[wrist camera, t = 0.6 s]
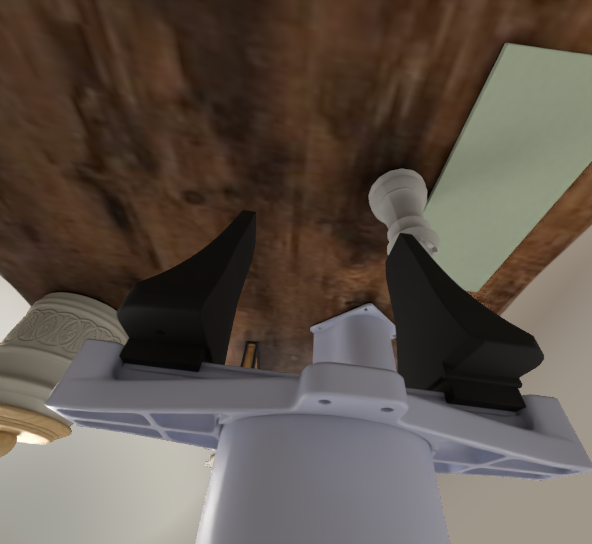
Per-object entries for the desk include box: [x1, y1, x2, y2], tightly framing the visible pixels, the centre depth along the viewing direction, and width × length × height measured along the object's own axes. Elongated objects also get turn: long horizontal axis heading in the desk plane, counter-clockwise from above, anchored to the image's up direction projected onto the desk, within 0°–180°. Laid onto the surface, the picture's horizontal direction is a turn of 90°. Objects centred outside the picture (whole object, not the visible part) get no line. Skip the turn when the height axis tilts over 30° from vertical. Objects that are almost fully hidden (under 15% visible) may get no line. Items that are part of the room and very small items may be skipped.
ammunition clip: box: [241, 342, 260, 369], centre depth 42 cm, size 11×2×12 cm, turn 176°
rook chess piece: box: [369, 169, 440, 257], centre depth 20 cm, size 4×4×8 cm
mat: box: [423, 43, 592, 292], centre depth 23 cm, size 20×10×1 cm, turn 174°
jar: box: [0, 292, 129, 457], centre depth 36 cm, size 13×13×18 cm
